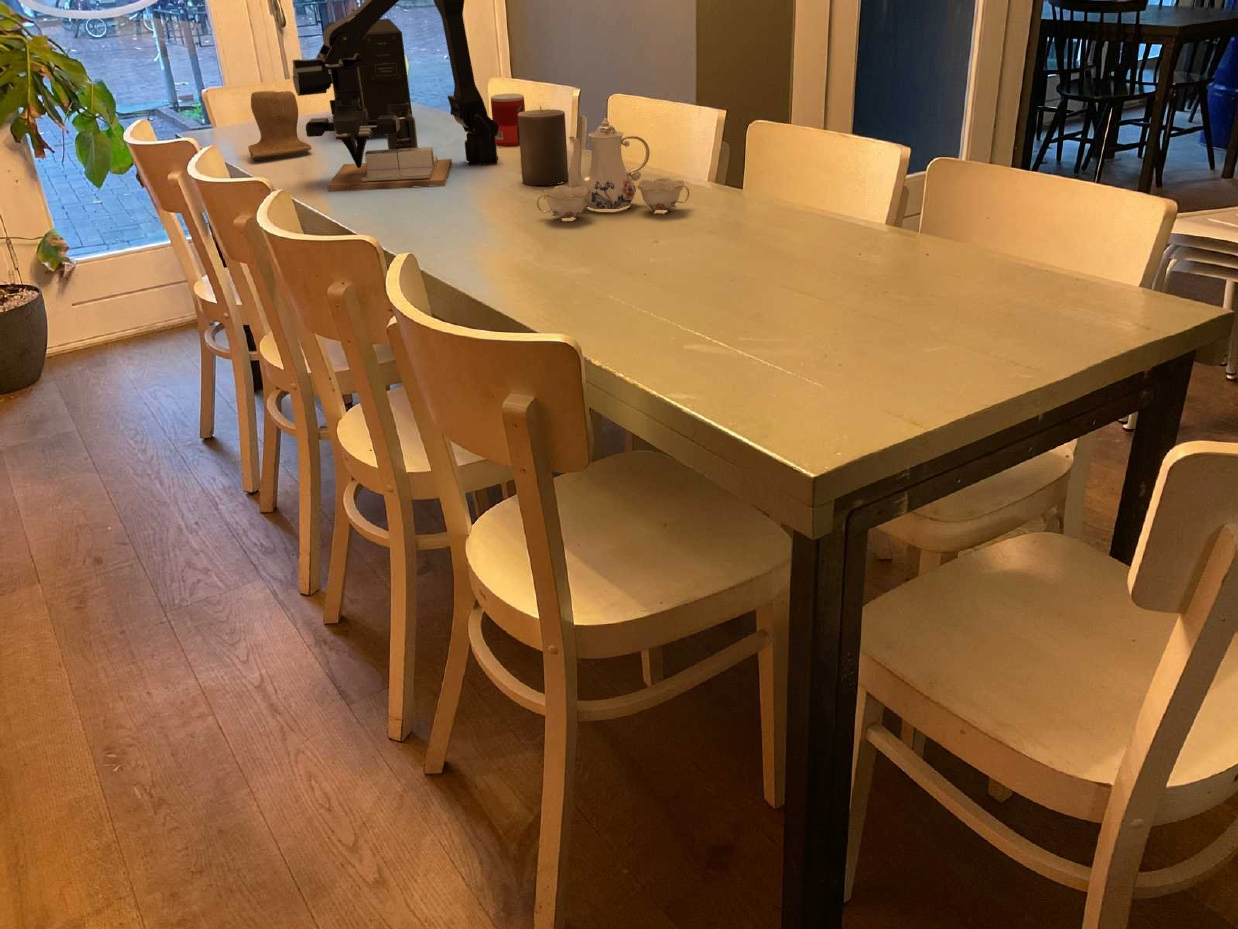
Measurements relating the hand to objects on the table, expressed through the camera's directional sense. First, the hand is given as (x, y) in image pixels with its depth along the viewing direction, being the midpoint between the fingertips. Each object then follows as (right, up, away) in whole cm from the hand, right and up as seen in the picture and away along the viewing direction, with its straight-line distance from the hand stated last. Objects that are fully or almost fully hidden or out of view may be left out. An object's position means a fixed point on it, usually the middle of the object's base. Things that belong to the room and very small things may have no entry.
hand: (359, 167), depth 218 cm
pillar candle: (+40, -5, -6) cm, 41 cm away
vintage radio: (-11, +27, +55) cm, 62 cm away
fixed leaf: (+9, +1, +4) cm, 10 cm away
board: (+7, -2, +1) cm, 7 cm away
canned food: (+29, +14, +29) cm, 44 cm away
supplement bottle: (+6, +8, +20) cm, 22 cm away
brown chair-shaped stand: (-26, +10, +26) cm, 38 cm away
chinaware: (+54, -17, -28) cm, 64 cm away
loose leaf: (+9, -2, -2) cm, 10 cm away
